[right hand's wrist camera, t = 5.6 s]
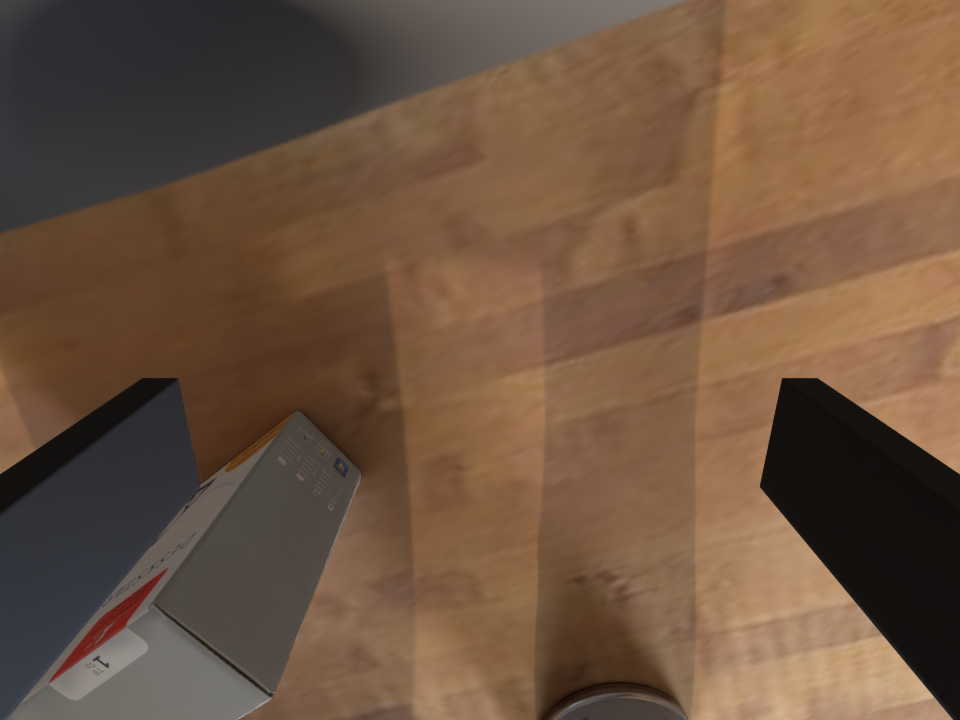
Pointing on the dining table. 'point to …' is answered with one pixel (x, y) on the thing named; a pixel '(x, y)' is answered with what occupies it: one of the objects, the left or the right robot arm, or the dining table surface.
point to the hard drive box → (211, 593)
